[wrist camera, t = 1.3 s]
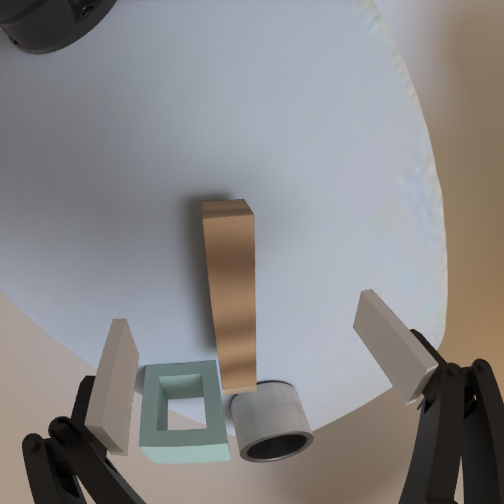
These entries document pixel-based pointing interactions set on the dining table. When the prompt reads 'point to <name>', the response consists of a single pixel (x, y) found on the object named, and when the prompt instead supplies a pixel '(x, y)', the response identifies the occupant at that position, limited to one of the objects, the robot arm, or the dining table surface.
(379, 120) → the dining table surface
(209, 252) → the brown wooden long bar
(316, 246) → the dining table surface
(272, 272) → the dining table surface
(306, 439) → the planter
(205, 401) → the green rectangular frame
